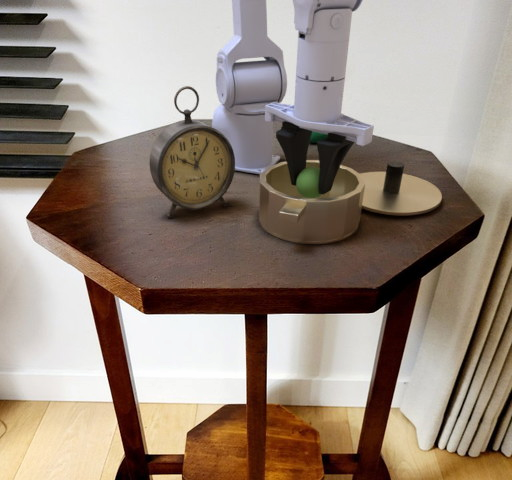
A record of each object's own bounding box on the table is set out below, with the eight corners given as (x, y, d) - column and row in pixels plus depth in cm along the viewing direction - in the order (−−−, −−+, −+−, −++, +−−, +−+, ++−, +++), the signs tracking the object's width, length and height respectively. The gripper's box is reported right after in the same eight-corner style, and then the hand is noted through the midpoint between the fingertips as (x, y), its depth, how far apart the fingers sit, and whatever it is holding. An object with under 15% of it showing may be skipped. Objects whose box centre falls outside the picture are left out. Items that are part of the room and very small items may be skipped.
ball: (289, 198, 72) (291, 168, 70) (306, 188, 75) (308, 160, 72) (314, 206, 70) (317, 176, 68) (330, 196, 73) (334, 167, 70)
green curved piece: (318, 155, 99) (344, 133, 96) (305, 138, 98) (331, 116, 94) (323, 138, 106) (348, 118, 103) (311, 123, 105) (336, 101, 101)
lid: (329, 208, 77) (333, 174, 74) (353, 172, 88) (357, 141, 85) (433, 227, 73) (442, 191, 70) (445, 187, 84) (453, 154, 81)
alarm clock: (164, 224, 73) (151, 96, 63) (151, 208, 77) (136, 85, 66) (237, 209, 77) (236, 86, 67) (221, 194, 81) (218, 76, 70)
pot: (236, 241, 70) (235, 198, 66) (284, 186, 83) (286, 148, 80) (339, 262, 66) (344, 218, 62) (371, 201, 80) (377, 161, 76)
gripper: (392, 79, 62) (374, 192, 71) (289, 60, 69) (284, 165, 77) (362, 92, 58) (346, 210, 66) (255, 70, 65) (253, 180, 73)
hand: (311, 187), depth 72 cm, fingers closed on ball, 4 cm apart
